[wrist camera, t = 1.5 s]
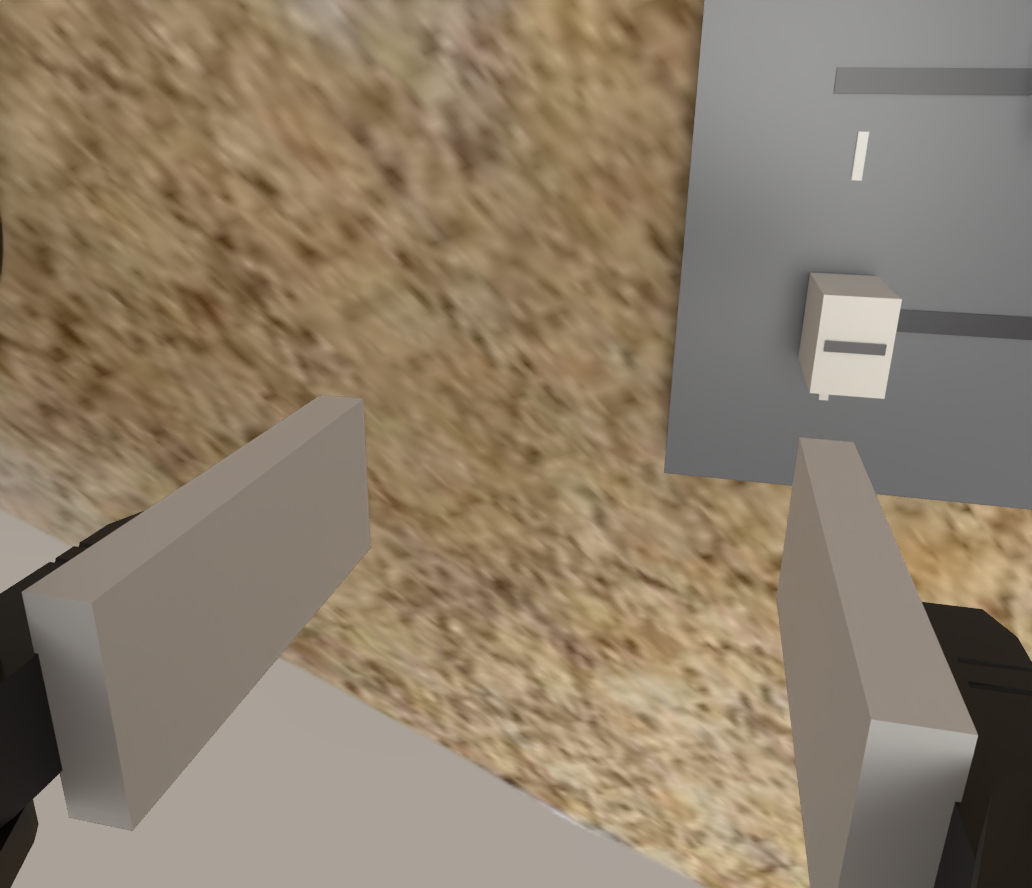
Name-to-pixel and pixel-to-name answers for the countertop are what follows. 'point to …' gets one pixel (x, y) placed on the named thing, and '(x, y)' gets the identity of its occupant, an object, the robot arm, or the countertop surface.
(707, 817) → the countertop surface
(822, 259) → the console
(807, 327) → the fader cream
